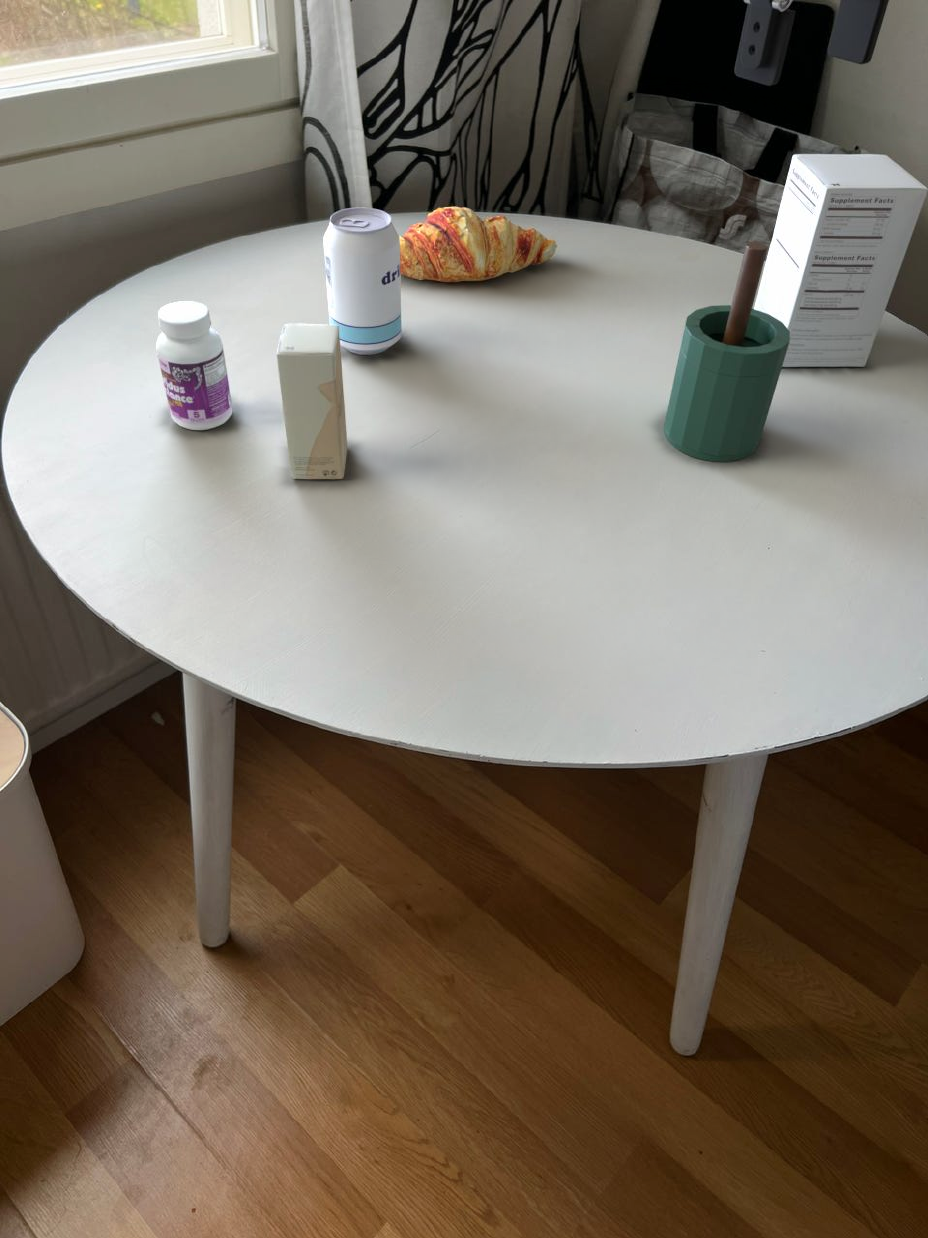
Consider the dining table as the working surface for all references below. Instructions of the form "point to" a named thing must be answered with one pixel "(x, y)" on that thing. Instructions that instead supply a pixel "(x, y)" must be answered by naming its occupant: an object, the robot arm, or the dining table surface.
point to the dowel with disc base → (745, 293)
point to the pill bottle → (193, 366)
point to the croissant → (469, 247)
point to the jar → (724, 385)
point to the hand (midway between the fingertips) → (803, 69)
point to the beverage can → (363, 279)
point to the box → (313, 400)
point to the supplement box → (837, 254)
